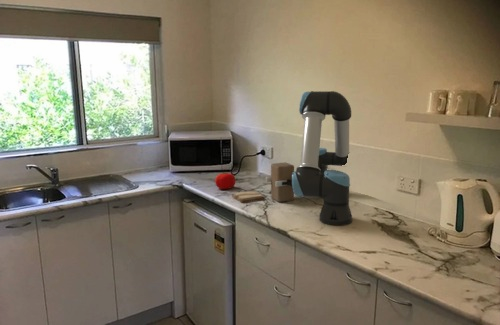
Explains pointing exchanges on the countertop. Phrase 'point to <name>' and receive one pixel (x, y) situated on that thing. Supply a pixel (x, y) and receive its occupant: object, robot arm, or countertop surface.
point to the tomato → (225, 181)
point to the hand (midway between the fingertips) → (271, 181)
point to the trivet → (248, 196)
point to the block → (279, 174)
